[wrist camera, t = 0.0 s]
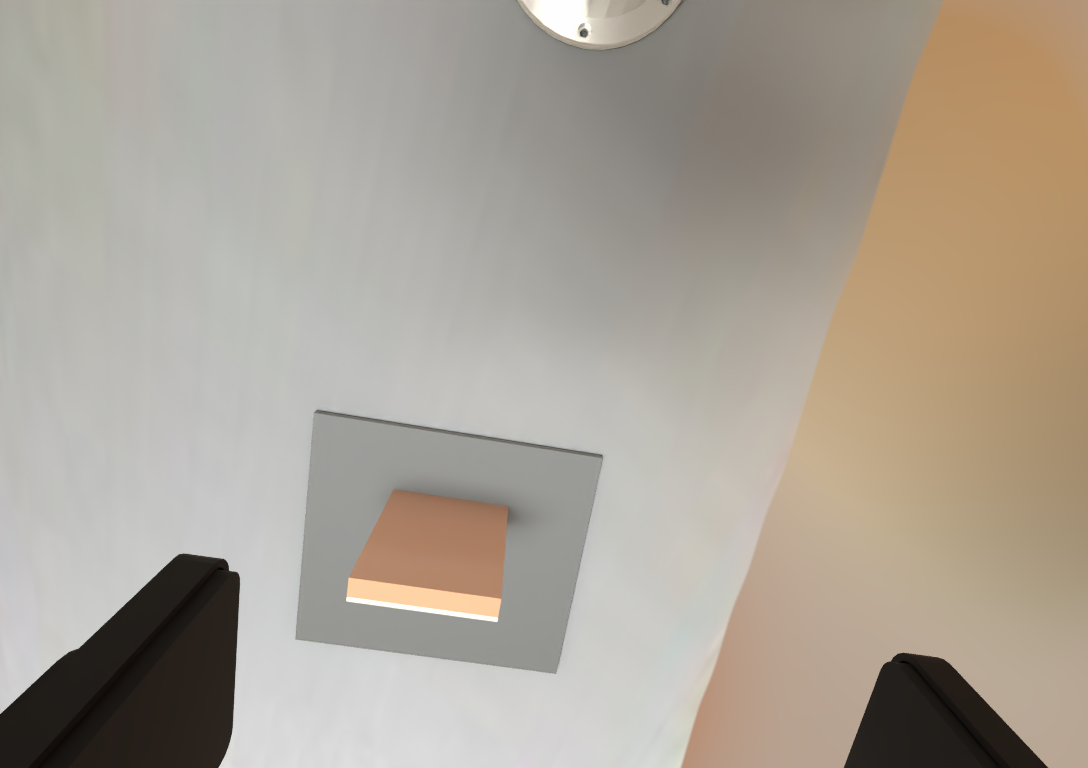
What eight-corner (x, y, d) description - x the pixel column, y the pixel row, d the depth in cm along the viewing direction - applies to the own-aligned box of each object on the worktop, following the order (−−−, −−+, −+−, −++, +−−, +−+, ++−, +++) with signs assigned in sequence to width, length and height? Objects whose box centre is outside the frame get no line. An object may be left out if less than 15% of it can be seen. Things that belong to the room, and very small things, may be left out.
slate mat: (316, 410, 46) (314, 412, 45) (601, 455, 47) (602, 458, 47) (298, 634, 51) (295, 639, 50) (555, 668, 52) (556, 673, 52)
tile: (393, 489, 47) (348, 577, 35) (508, 506, 47) (501, 598, 36) (391, 507, 47) (346, 601, 36) (505, 524, 48) (497, 621, 36)
